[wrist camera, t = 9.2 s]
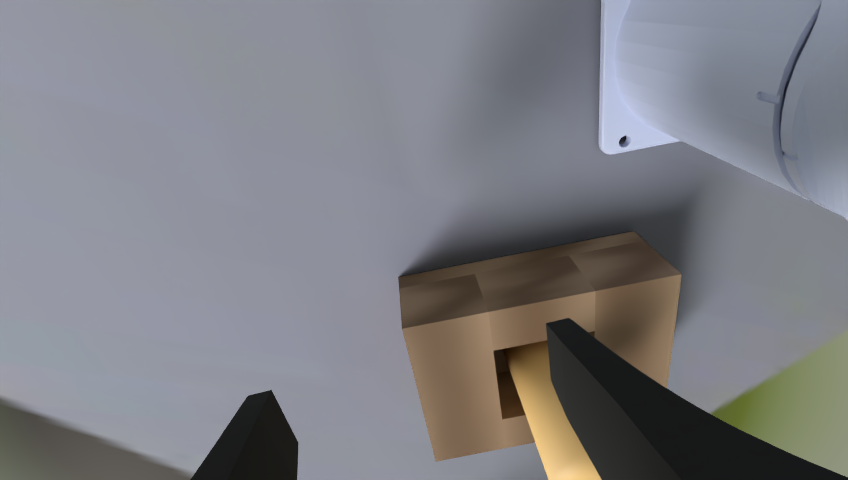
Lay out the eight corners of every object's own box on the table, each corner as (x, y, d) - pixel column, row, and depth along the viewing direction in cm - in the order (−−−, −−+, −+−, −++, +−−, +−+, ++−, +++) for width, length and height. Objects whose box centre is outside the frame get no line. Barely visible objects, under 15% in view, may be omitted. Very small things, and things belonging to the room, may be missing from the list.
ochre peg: (560, 311, 23) (639, 448, 16) (550, 355, 24) (619, 499, 17) (503, 313, 23) (558, 453, 16) (496, 357, 24) (545, 504, 17)
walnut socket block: (634, 230, 22) (681, 274, 19) (625, 362, 27) (663, 417, 23) (398, 277, 22) (402, 328, 19) (428, 400, 27) (435, 461, 23)
